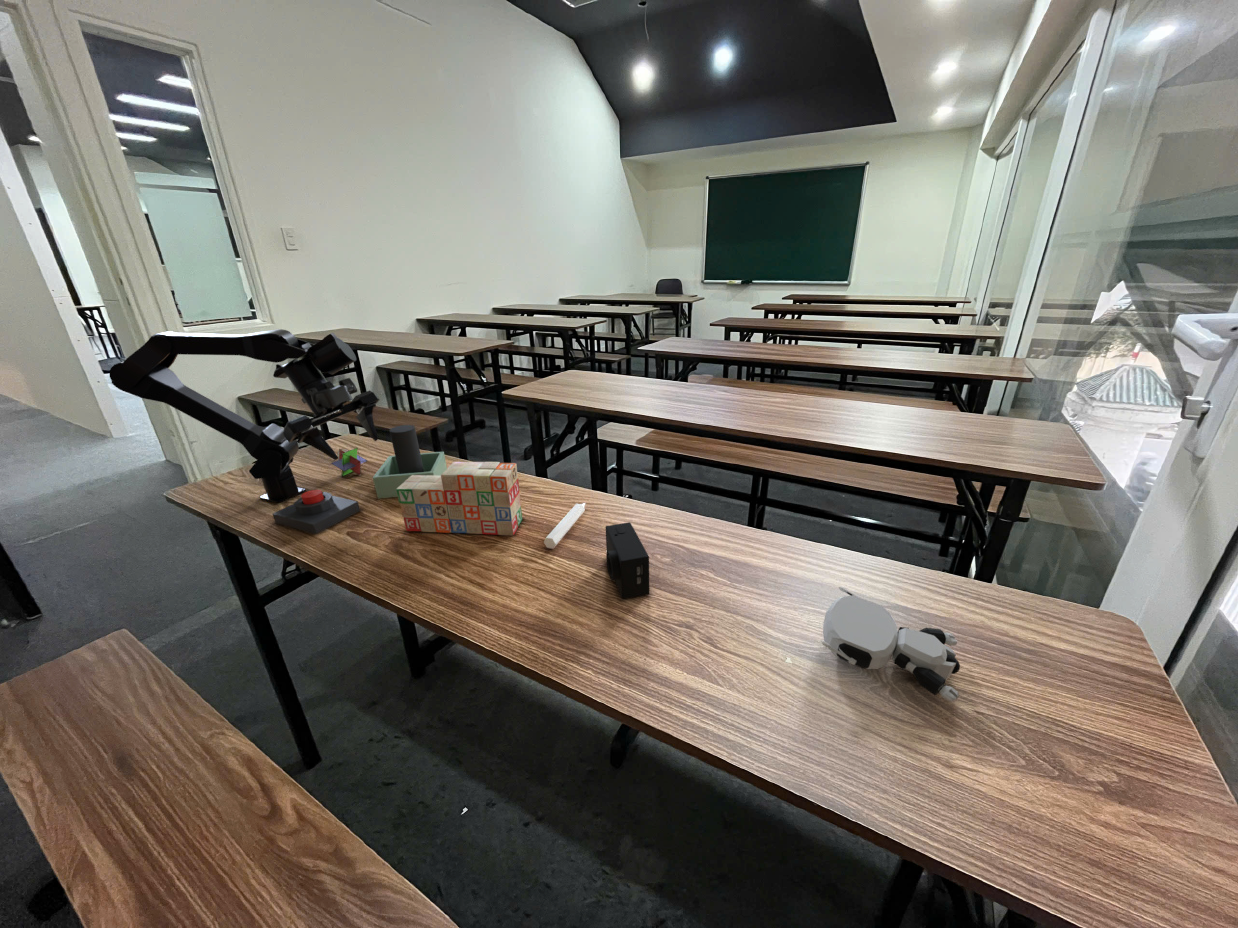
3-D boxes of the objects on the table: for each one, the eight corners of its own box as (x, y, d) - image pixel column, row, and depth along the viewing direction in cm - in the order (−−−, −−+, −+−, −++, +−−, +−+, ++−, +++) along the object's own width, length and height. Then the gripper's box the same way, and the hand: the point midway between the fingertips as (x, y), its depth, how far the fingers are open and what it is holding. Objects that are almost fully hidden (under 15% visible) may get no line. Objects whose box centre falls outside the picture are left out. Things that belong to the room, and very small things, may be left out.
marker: (586, 510, 99) (551, 551, 85) (577, 504, 99) (542, 544, 85) (591, 501, 98) (557, 541, 84) (583, 495, 98) (547, 534, 84)
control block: (275, 523, 96) (269, 505, 94) (321, 501, 104) (316, 484, 103) (316, 534, 91) (310, 516, 90) (360, 510, 100) (355, 493, 98)
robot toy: (951, 651, 62) (829, 605, 69) (963, 625, 60) (836, 580, 67) (952, 724, 52) (810, 663, 59) (966, 696, 50) (818, 636, 57)
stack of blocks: (405, 532, 91) (391, 473, 86) (420, 516, 97) (408, 460, 92) (514, 535, 89) (506, 475, 84) (523, 518, 95) (516, 461, 90)
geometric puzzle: (378, 463, 118) (357, 436, 117) (354, 474, 112) (332, 446, 111) (365, 476, 121) (345, 450, 121) (341, 487, 116) (320, 460, 115)
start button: (299, 503, 96) (296, 495, 95) (316, 495, 99) (313, 488, 98) (311, 506, 94) (309, 498, 94) (328, 498, 97) (325, 491, 97)
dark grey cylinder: (399, 487, 108) (386, 433, 103) (404, 478, 113) (392, 426, 108) (423, 485, 109) (412, 431, 104) (427, 475, 114) (416, 423, 109)
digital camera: (599, 562, 81) (598, 526, 78) (630, 556, 82) (630, 521, 79) (614, 601, 71) (613, 562, 69) (649, 594, 73) (649, 555, 70)
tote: (377, 498, 105) (372, 477, 103) (393, 475, 116) (389, 455, 114) (437, 493, 106) (433, 472, 104) (447, 470, 118) (443, 451, 116)
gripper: (272, 386, 88) (324, 457, 90) (365, 356, 101) (408, 419, 103) (262, 408, 96) (310, 473, 98) (350, 377, 109) (390, 436, 111)
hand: (357, 449), depth 102 cm, fingers open, 9 cm apart
